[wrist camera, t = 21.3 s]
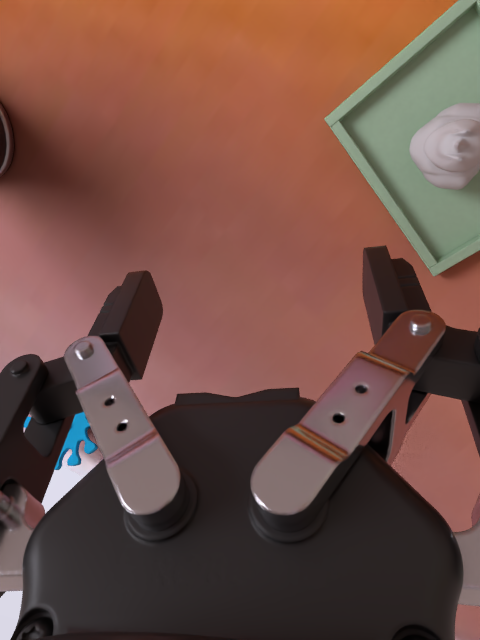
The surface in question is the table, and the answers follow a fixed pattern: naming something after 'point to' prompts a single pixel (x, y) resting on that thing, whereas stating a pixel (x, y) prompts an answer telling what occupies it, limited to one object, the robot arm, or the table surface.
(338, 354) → the table surface
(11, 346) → the table surface
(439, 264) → the tray
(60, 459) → the blue virus model
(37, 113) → the table surface
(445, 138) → the white plastic figurine
